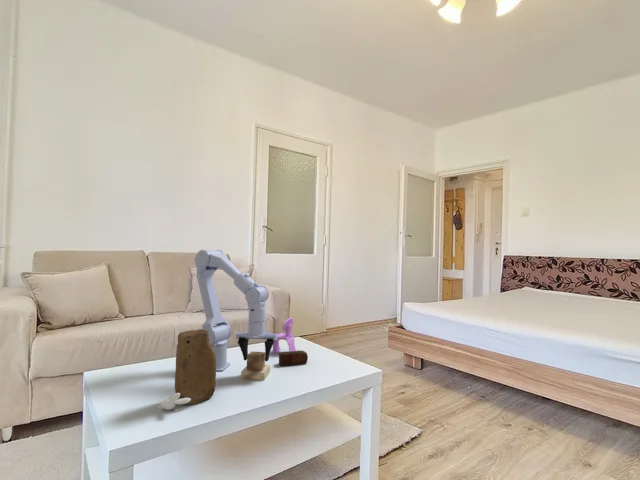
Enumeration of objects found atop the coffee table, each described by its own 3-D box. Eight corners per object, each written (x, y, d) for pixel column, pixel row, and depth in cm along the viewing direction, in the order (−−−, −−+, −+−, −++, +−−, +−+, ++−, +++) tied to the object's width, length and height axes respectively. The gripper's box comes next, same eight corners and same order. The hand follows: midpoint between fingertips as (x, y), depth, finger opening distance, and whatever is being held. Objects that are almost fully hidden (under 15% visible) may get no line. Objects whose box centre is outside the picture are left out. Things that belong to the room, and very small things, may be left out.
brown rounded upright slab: (178, 408, 96) (180, 336, 97) (173, 398, 103) (174, 330, 103) (217, 399, 102) (218, 331, 103) (210, 390, 109) (211, 326, 109)
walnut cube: (246, 370, 120) (247, 355, 120) (251, 365, 125) (251, 351, 125) (260, 371, 119) (261, 356, 119) (264, 366, 124) (265, 352, 124)
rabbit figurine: (167, 405, 99) (192, 393, 98) (167, 419, 96) (193, 407, 96) (152, 401, 94) (179, 388, 94) (153, 416, 91) (180, 403, 91)
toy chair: (280, 348, 155) (280, 315, 155) (297, 351, 151) (298, 316, 152) (270, 354, 147) (270, 318, 148) (288, 356, 144) (289, 320, 144)
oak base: (241, 380, 119) (241, 371, 119) (248, 372, 126) (248, 363, 127) (264, 381, 118) (264, 372, 118) (270, 373, 126) (270, 364, 126)
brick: (280, 367, 131) (281, 354, 131) (278, 364, 135) (278, 351, 135) (307, 364, 135) (307, 352, 135) (304, 361, 139) (304, 349, 139)
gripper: (232, 322, 119) (232, 362, 119) (274, 324, 118) (273, 364, 117) (239, 318, 126) (239, 356, 126) (278, 319, 125) (278, 358, 124)
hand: (256, 359), depth 122 cm, fingers open, 7 cm apart
